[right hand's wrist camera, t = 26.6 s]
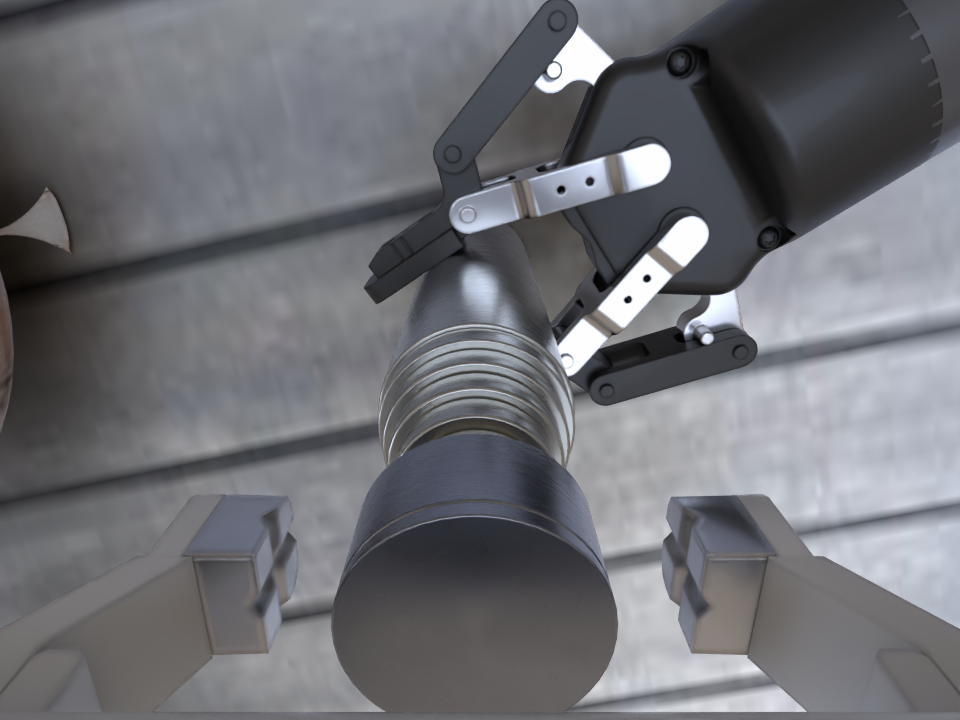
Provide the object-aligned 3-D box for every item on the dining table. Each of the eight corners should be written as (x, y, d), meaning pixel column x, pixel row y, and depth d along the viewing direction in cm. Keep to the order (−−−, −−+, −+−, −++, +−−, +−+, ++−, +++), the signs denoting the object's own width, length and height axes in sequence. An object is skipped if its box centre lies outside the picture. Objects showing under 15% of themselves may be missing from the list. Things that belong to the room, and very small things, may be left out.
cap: (550, 399, 9) (569, 476, 7) (617, 589, 11) (650, 698, 9) (320, 474, 10) (280, 566, 8) (412, 647, 11) (397, 762, 9)
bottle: (519, 206, 28) (617, 436, 8) (533, 303, 29) (642, 689, 10) (420, 223, 28) (280, 485, 8) (439, 318, 30) (359, 723, 10)
